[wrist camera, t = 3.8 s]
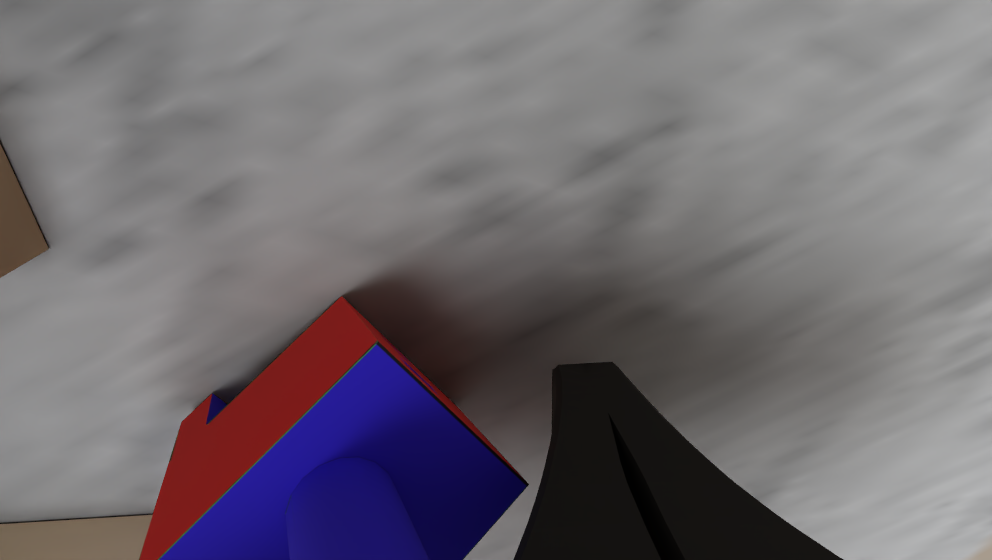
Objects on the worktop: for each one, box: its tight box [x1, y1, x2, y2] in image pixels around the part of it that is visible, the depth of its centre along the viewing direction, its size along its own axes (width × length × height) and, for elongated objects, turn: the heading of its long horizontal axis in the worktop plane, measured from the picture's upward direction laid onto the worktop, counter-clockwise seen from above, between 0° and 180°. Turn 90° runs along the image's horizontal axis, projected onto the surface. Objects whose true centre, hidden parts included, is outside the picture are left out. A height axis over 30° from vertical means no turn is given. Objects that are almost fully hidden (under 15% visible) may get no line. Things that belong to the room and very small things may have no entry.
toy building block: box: [139, 296, 529, 560], centre depth 9 cm, size 4×4×8 cm
